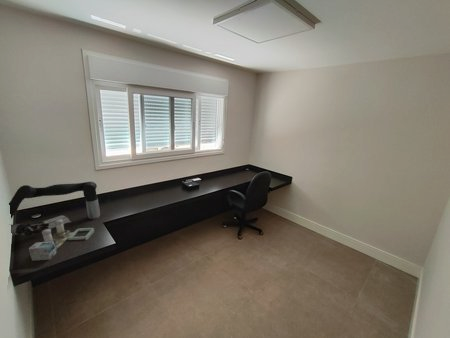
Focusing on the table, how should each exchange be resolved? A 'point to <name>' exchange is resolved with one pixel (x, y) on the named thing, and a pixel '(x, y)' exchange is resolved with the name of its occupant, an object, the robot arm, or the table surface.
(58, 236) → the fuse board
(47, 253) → the light bulb box
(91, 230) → the tray
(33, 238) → the table surface
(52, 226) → the gadget
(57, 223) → the fuse marked
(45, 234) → the fuse
